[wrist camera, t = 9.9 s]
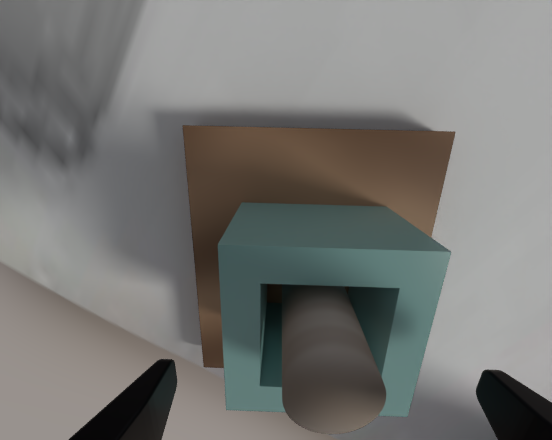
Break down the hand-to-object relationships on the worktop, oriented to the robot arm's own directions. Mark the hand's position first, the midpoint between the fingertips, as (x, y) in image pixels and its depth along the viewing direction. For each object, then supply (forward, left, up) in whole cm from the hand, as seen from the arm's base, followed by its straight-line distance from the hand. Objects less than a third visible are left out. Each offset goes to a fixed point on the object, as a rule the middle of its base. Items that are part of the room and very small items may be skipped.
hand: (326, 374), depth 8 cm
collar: (0, 0, -6) cm, 6 cm away
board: (0, 0, -8) cm, 8 cm away
